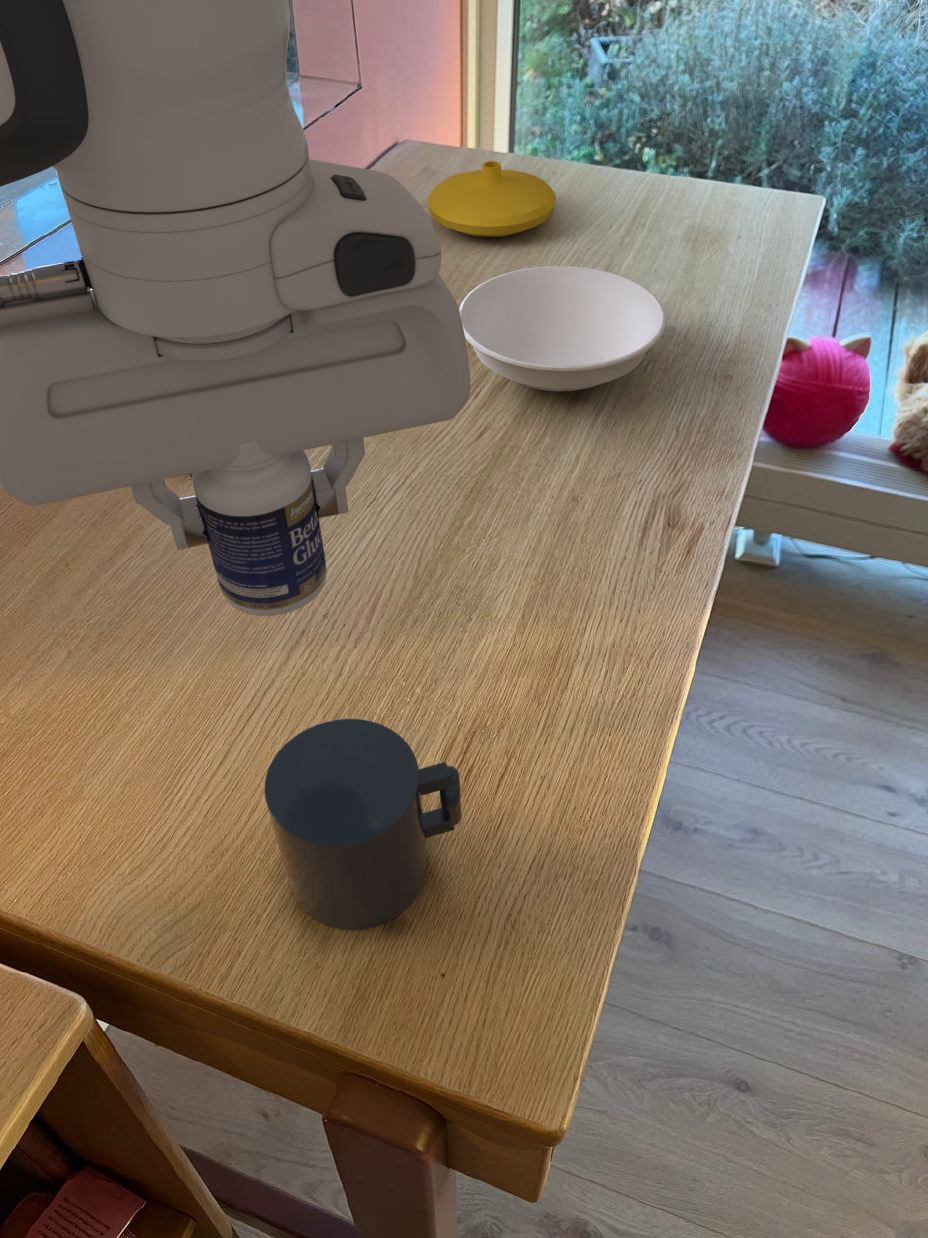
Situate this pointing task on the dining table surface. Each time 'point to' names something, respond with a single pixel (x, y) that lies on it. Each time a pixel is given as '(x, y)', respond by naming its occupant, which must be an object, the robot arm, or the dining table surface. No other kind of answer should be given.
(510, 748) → the dining table surface
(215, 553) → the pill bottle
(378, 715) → the dining table surface
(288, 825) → the mug
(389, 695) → the dining table surface
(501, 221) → the vase
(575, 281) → the bowl
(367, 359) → the robot arm
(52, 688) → the dining table surface
